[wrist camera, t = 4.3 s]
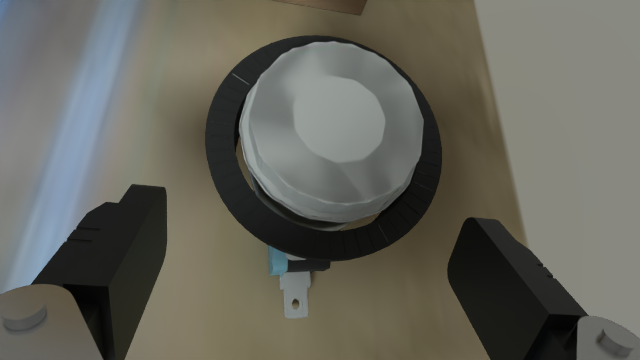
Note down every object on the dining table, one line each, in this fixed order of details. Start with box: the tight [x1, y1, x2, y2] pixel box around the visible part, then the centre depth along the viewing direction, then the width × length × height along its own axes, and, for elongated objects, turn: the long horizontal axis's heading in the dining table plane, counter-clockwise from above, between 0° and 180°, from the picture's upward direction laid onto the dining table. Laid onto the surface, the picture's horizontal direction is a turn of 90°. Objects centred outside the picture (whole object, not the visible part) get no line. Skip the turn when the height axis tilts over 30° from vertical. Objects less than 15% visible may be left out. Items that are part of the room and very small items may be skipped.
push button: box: [205, 35, 442, 319], centre depth 12 cm, size 7×5×10 cm
